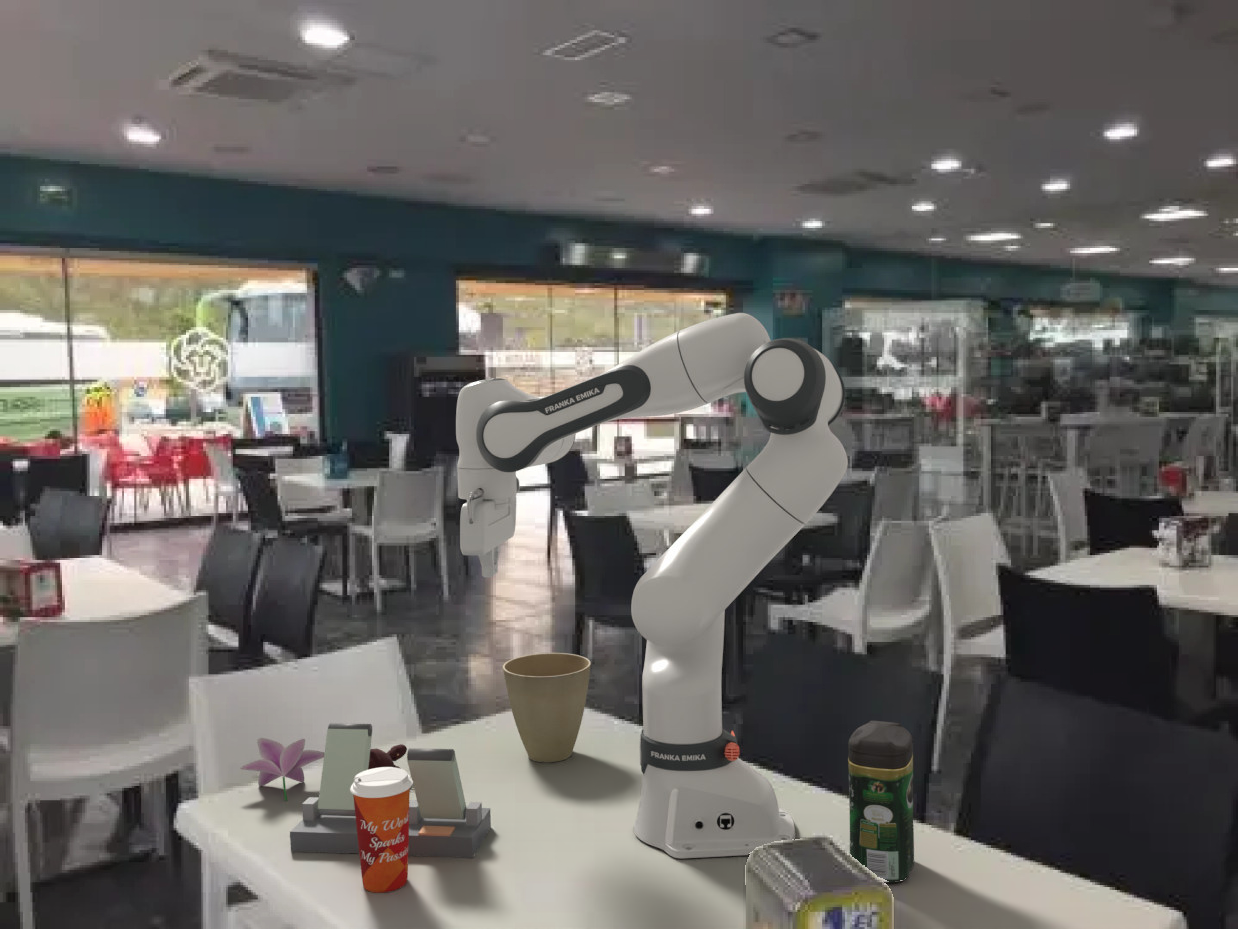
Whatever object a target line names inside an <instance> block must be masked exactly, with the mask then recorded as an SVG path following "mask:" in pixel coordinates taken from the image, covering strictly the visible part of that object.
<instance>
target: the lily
mask: <svg viewBox="0 0 1238 929" xmlns="http://www.w3.org/2000/svg"><path fill="white" fill-rule="evenodd" d="M256 743H257V748H258V752H259V755H260V758H261V759H257V760H254V761H251V762H249V763H247V764H246V763H245V764H244V765H243V766H241V767H240V769H241V770H242V771H243V770H245V771H253V772H254V771H255V772H259V774H258V781H257V784H258V787H263V786H265V785H267V784H269V783H271V782H273V781H274V780H276V779H279V778H280V777H282V786H283V787H282V788H283V795H284V802H287V801H288V796H287V789H286V778H288V779H290V780H292V781H297V782H299V783H304V782H305V774H304V770H303V768H302V767H304V766H307V765H308V764H311V763H313V762H317V761H318V760H321V759H324V754H325V751H319V750H314V749H313V750H312V749H305V745H306V739H305V738H301V739H298V740H296V741H294V742H292V743H290V744H288V746H284V745H283V744H282V743H280V742H278V741H276V740H273V739H269V738H264V737H259V738H258V739H257V742H256ZM304 749H305V750H304Z"/></svg>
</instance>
